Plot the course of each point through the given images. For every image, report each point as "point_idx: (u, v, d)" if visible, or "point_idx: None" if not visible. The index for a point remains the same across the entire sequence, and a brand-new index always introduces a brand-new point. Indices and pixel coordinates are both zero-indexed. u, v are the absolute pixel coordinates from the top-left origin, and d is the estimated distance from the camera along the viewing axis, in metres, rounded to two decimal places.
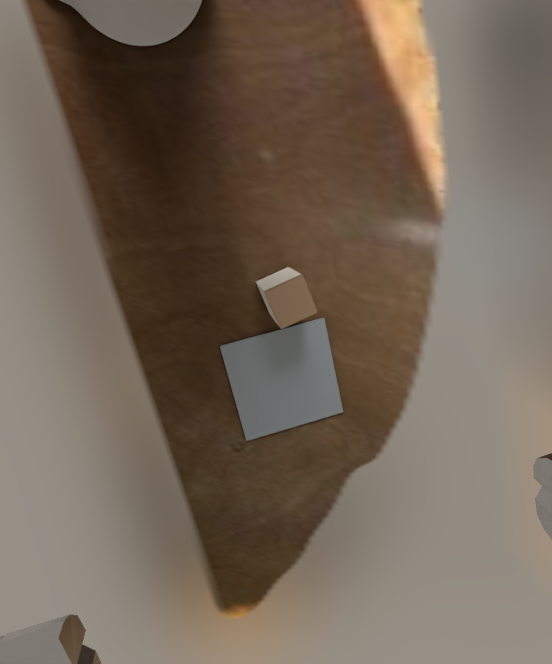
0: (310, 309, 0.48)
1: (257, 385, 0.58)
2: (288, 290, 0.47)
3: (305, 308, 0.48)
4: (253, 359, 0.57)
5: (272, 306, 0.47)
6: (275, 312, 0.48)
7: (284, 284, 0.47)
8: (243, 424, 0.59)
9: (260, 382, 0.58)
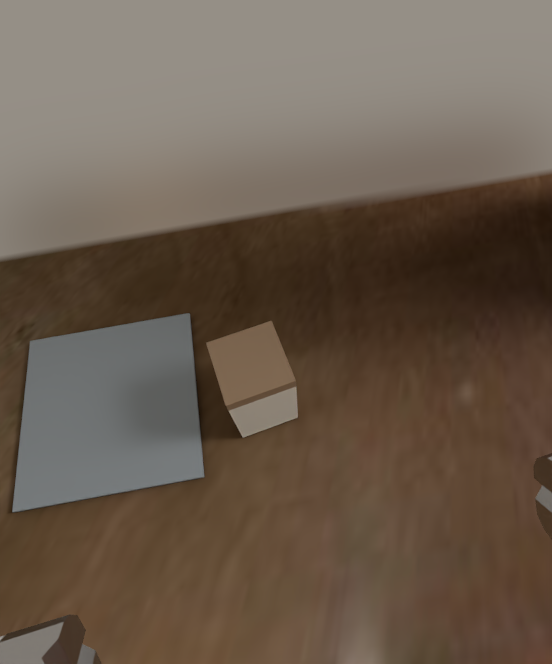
0: (233, 392, 0.27)
1: (114, 361, 0.36)
2: (271, 356, 0.27)
3: (235, 383, 0.27)
4: (157, 357, 0.36)
5: (247, 330, 0.28)
6: (236, 334, 0.28)
7: (282, 350, 0.28)
8: (59, 338, 0.38)
9: (119, 365, 0.36)
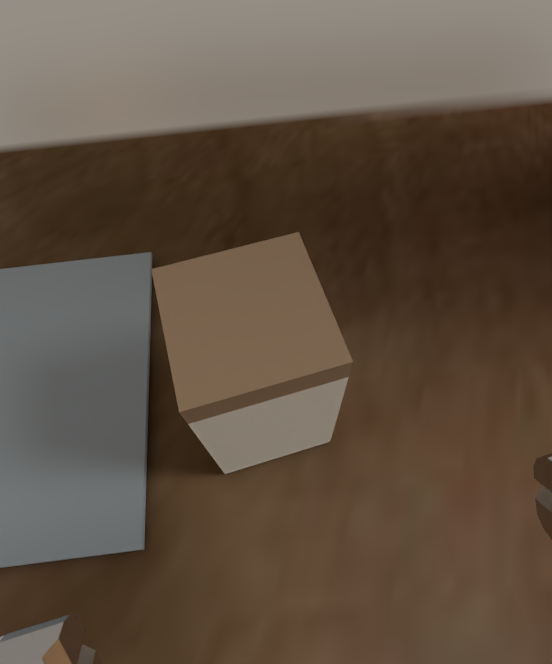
0: (200, 381, 0.11)
1: (12, 323, 0.21)
2: (296, 303, 0.12)
3: (208, 359, 0.11)
4: (87, 320, 0.21)
5: (244, 249, 0.13)
6: (220, 256, 0.13)
7: (321, 294, 0.12)
8: None
9: (19, 330, 0.21)
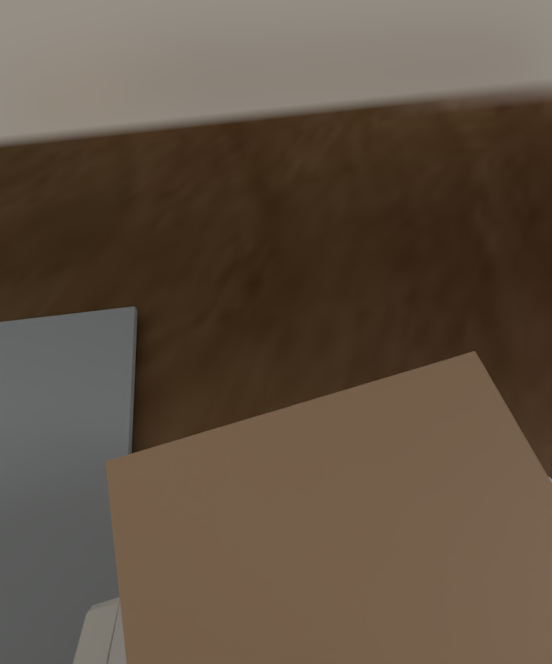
0: None
1: None
2: (521, 596, 0.04)
3: None
4: (31, 423, 0.13)
5: (345, 401, 0.05)
6: (284, 422, 0.05)
7: None
8: None
9: None
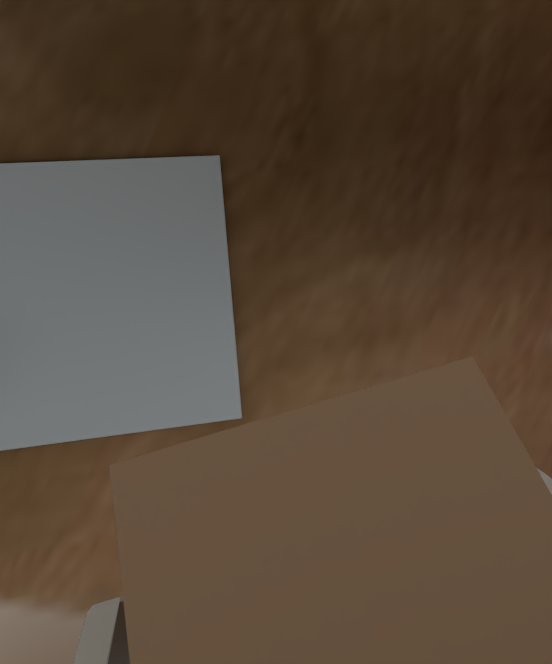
0: None
1: (89, 236, 0.21)
2: (516, 598, 0.04)
3: None
4: (167, 238, 0.22)
5: (344, 406, 0.05)
6: (284, 427, 0.05)
7: None
8: None
9: (98, 245, 0.21)
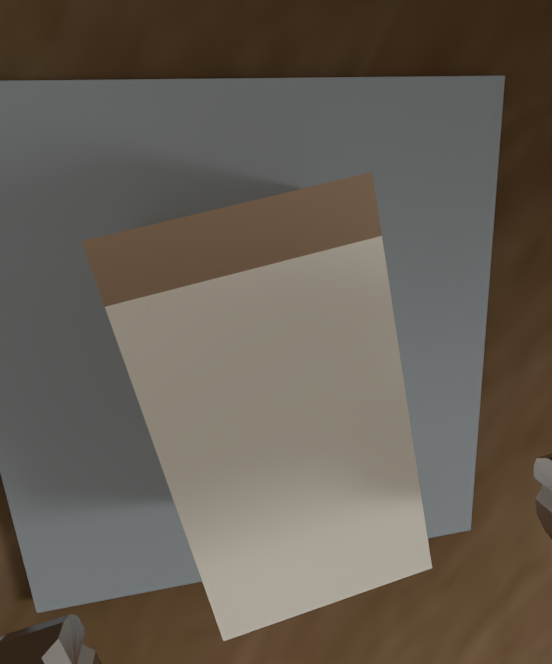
0: None
1: None
2: None
3: None
4: (395, 231, 0.12)
5: None
6: None
7: None
8: (31, 91, 0.09)
9: None
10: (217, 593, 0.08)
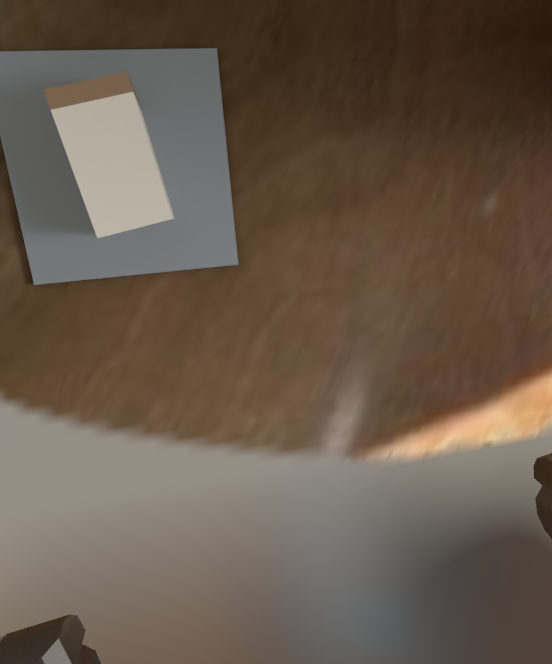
0: None
1: None
2: None
3: None
4: (178, 113, 0.29)
5: None
6: None
7: (131, 85, 0.26)
8: (27, 55, 0.26)
9: None
10: (93, 217, 0.25)
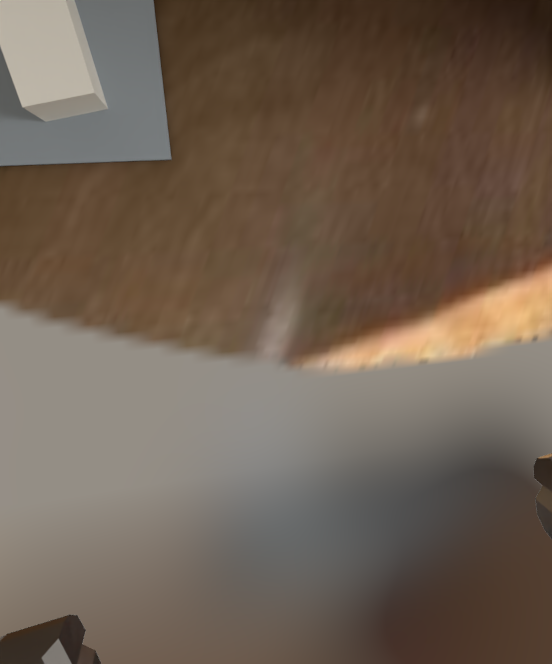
0: None
1: None
2: None
3: None
4: (110, 3, 0.30)
5: None
6: None
7: None
8: None
9: None
10: (17, 85, 0.27)
